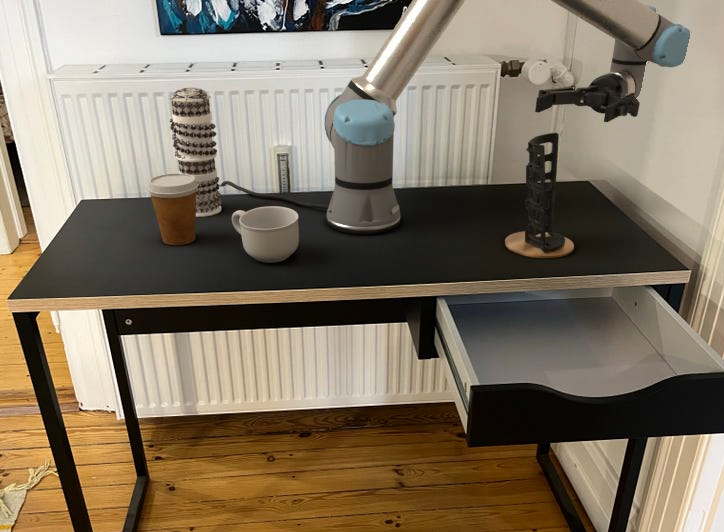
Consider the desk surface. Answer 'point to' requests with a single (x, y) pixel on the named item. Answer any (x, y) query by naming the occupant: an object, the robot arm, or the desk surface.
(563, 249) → the cork mat
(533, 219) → the holder
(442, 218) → the desk surface
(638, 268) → the desk surface
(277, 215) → the teacup
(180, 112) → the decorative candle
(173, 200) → the disposable coffee cup
